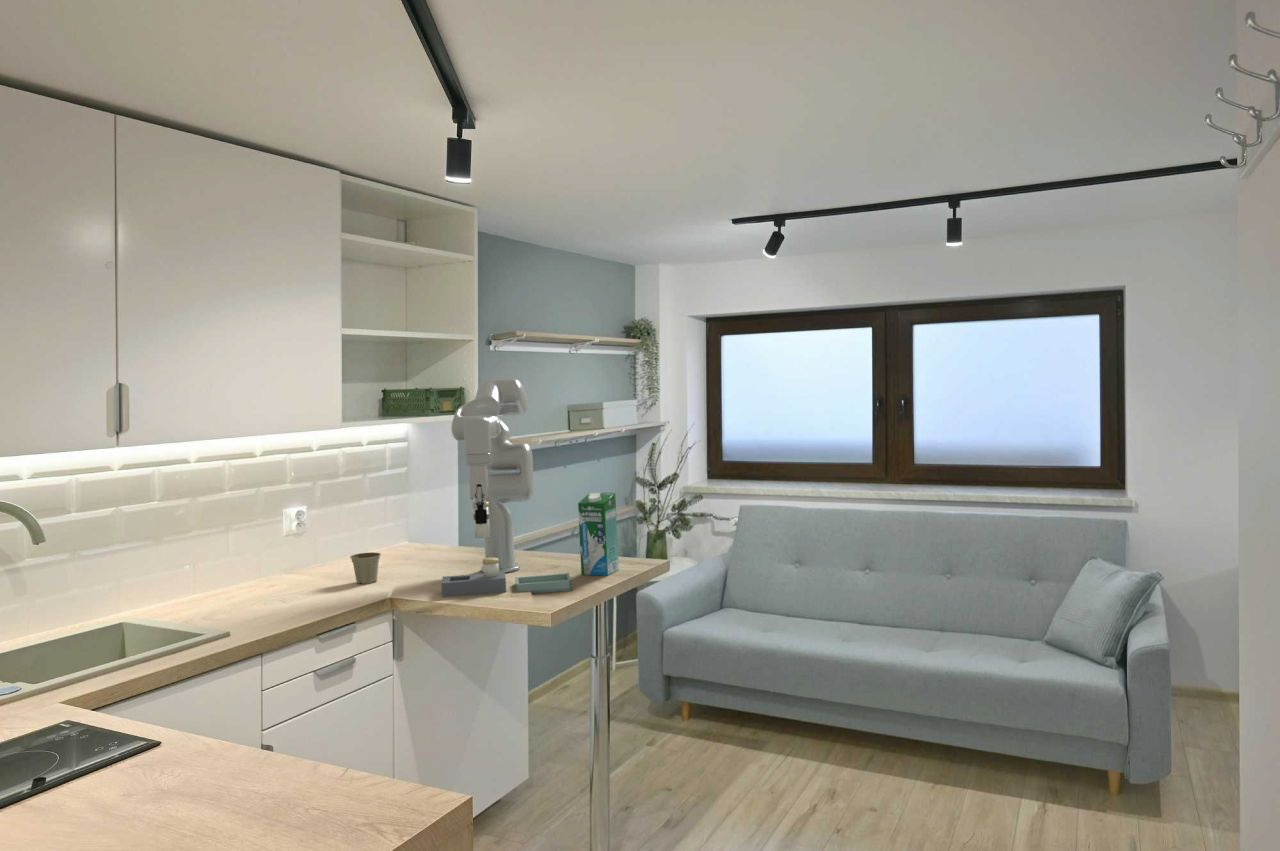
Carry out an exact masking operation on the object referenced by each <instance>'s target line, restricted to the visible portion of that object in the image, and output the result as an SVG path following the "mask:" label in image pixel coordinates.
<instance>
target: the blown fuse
mask: <svg viewBox="0 0 1280 851" xmlns="http://www.w3.org/2000/svg"><path fill="white" fill-rule="evenodd" d="M488 506H489V502H488V501H485V510H486V513H487V523H486V524H476V521H475V510H476V507H475V501H473V502H472V510H473V512H472V513H473V514H472V516H473V530H474V532H473V533H474V538H477V539H482V538H483V539H484V538H485V537H490V527H489V508H488Z"/></svg>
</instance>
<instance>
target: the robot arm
mask: <svg viewBox="0 0 1280 851" xmlns="http://www.w3.org/2000/svg"><path fill="white" fill-rule="evenodd" d="M528 400H529V399H528V396H527V393H526V391H525V388H524V386H523V385H522V383H521V381H520V380H518V379H517V378H493V379H487V380H486V379H485V380H484V381H482V382H481V383H480V384H479V386H478V388H477V392H476V395H475V397H474V399H472V400H470V401H469V402H467V403H464V404H462V405H461V406H459V407H457V409H456V411H455V412H454V415H453V418H452V422H451V434H452V437H453V439H455V440H456V441H458V442H464V461H465V466H466V467H468V478H469V500H471V501H473V500H474V502H475V507H476V510H475V521H476V524H486V523H487V513H486V510H485V501H488V502H489V506H488V508H489V527H490V537H485V538H483V541H484V543H483V544H484V559H485V558H498V559H499V562H498V566H499V572H505V574H506V573H512V572H515V571H518V570H519V569H520V568H521V567H520V566H521V565H520V564H519V563H517V562H516V560H515V559H516V558H515V557H516V556H515V540H514V537H515V536H514V521H513V520H514V519H513V518H514V517H513V514H512V512H511V511H510V509H509V508H508V507H507V506H506V505H505V504H509V503H523V502H524V503H525V502H528V501H531V500H532V497H533V493H534V460H533V458H534V457H533V451H532V447H531V446H530V445H529V444H528V443H524V442H511V430H510V429H509V427H508V426H507V424H505V422H504V421H503V420H501V419H500V418H499V417H508V416H509V417H511V416H522V415H524V414H526V413H527V410H528V407H529V401H528ZM489 472H492V473H491V474H490V473H489ZM508 472H509V473H508ZM510 472H512V473H510ZM515 472H516V473H515ZM480 570H481V573H484V572H483V565H482V566H481V567H480Z"/></svg>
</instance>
